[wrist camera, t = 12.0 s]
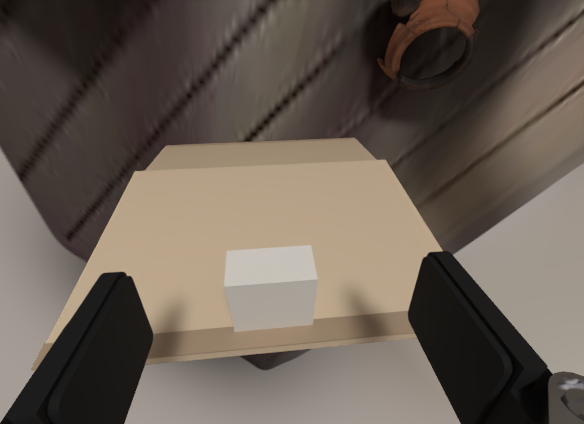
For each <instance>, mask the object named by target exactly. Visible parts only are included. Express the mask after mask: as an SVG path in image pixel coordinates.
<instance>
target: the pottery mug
mask: <svg viewBox="0 0 584 424" xmlns="http://www.w3.org/2000/svg"><path fill="white" fill-rule="evenodd" d="M389 1H390V2H391V3H392V4H391V8H392V12H393V14H395V15H397V16H399V17H402V18H404V17H407V16H409V15H410V18H409V21H408V22H407V24H406V25H404V24H402V23H398V25H397V26H396V29H395V31H394V33H393V35H392V37H391V39H390V41H389V44H388V48H387V51H386V54H385V62H384V61H383V60H382V58H380V57H379V58H377V61H378V64H379V65H380V67H381V69H382V70H383V71H384V73H385V74H386V75H387V76H389V77H390V78H391V79H392V80H395V81H397V82H398V84H399V86H400V87H402V88H404V89H408V90H411V91H418V92H419V91H427V90H432V89H437V88H438V87H441V86H443V85H446V84H447V83H449V82H451V81H453V80H454V79H455V78H457V77H458V76H459V75H460V74H461V73H462V72H463V71H464V70H465V69H466V68H467V66H468V65H469V64H470V62H471V61H472V59H473V57H474V55H475V53H476V51H477V38H478V35H479V32H480V28H479V26H476V28H475V29H474V28H473V27H472V24H473V23H474V22H475V20H476V18H477V17H478V14H479V12H480V8H479V5H478V0H389ZM441 27H451V28H455V29H457V30H459V31H461V32H462V33H463V35H464V36H465V38H466V47H465V50H464V52H463V54H462V56H461V58H460V59H459V60H458V61H456V62H455V63H454V64H453V65H452V66H451V67H450V68H449V69H447V70H446V71H444V72H442V73H440V74H438V75H436V76H434V77H431V78H428V79H421V80H413V79H409V78H407V77H405V76H404V75H402V74H400V73H399V72H398V70H399V69H400V60H401V57H402V55H403V53H404V51H405V50H406V48H407V47H408V46H409V45H410V44H411V42H412V41H413V40H414V39H415V38H416V37H417V36H420V35H421V34H423V33H425V32H427V31H430V30H432V29H436V28H441Z"/></svg>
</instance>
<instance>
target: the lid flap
mask: <svg viewBox="0 0 584 424" xmlns="http://www.w3.org/2000/svg"><path fill="white" fill-rule="evenodd" d="M439 251H442V249H441V247H440V246H439V244H438V243H437V241H436V239H435V238H434V236H433V235H432V233H431V231H430V230H429V228H428V227H427V225H426V224H425V222H424V220H423V219H422V217H421V216H420V214H419V212H418V211H417V209H416V208H415V206H414V204H413V203H412V201H411V200H410V198H409V197H408V195H407V193H406V192H405V190H404V189H403V187H402V185H401V184H400V182H399V181H398V179H397V177H396V176H395V174H394V173H393V171H392V170H391V168H390V166H389V165H388V163H387V162H386V160H367V161H346V162H325V163H303V164H282V165H261V166H239V167H218V168H197V169H175V170H154V171H135V172H134V174H133V176H132V178H131V180H130V182H129V184H128V186H127V188H126V190H125V192H124V193H123V195H122V197H121V199H120V201H119V203H118V205H117V207H116V209H115V211H114V213H113V215H112V217H111V219H110V221H109V222H108V224H107V226H106V228H105V230H104V232H103V234H102V236H101V238H100V240H99V242H98V244H97V246H96V248H95V250H94V251H93V253H92V255H91V257H90V259H89V261H88V263H87V265H86V267H85V269H84V271H83V273H82V275H81V277H80V279H79V281H78V282H77V284H76V286H75V288H74V290H73V292H72V294H71V296H70V298H69V300H68V302H67V304H66V306H65V308H64V310H63V312H62V313H61V315H60V317H59V319H58V321H57V323H56V325H55V327H54V329H53V331H52V333H51V335H50V337H49V339H48V340H47V342H46V344H44V345H43V347H42V349H41V351H40V353H39V355H38V357H37V359H36V361H35V363H34V364H33V366H32V368H31V370H33V371H34V372H35V371H36V369H37V368H38V366H39V365H40V363H41V362H42V360H43V359H44V357H45V356H46V354H47V353H48V351H49V350H50V348H51V347H52V345H53V344H54V342H55V341H56V339H57V338H58V336H59V335H60V333H61V332H62V330H63V329H64V327H65V326H66V325H67V324H68V322H69V321H70V320H71V318H72V317H73V315H74V314H75V312H76V311H77V309H78V308H79V306H80V305H81V303H82V302H83V300H84V299H85V297H86V296H87V294H88V293H89V291H90V290H91V288H92V287H93V285H94V284H95V282H96V281H97V279H98V278H99V276H100V275H101V274H103V273H108V272H125V273H126V274H127V276H131V277H132V278H133V281H134V283H135V286H136V288H137V291H138V294H139V296H140V299H141V302H142V304H143V307H144V310H145V312H146V315H147V318H148V320H149V323H150V326H151V328H152V331H153V343H152V346H151V349H150V351H149V354H148V357H147V360H146V363H145V365H148V364H160V363H170V362H180V361H190V360H200V359H210V358H221V357H231V356H241V355H251V354H261V353H271V352H282V351H292V350H302V349H312V348H322V347H332V346H343V345H352V344H363V343H373V342H383V341H394V340H404V339H414V338H417V336H416V335H415V333H414V331H413V329H412V327H411V325H410V323H409V320H408V310H409V306H410V302H411V299H412V295H413V291H414V288H415V284H416V280H417V277H418V273H419V270H420V266H421V262H422V259H423V258H424V257H427V254H428V253H429V252H439Z"/></svg>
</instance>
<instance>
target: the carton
mask: <svg viewBox="0 0 584 424" xmlns="http://www.w3.org/2000/svg"><path fill="white" fill-rule="evenodd" d="M367 160H376V159H375V158H374V157H373V156H372V155H371V154H370V153H369V152H368V151H367V150H366V149H365V148H364V147H363V146H362V145H361V144H360V143H359V142H358V141H357V140H356V139H355V138H335V139H311V140H286V141H261V142H236V143H212V144H187V145H166V146H165V147H164V149H163V150H162V151H161V152H160V153H159V155H158V156H157V157H156V158H155V159H154V160H153V162H152V163H151V164H150V165H149V166H148V168H147V169H146V170H145V171H154V170H175V169H197V168H218V167H239V166H261V165H282V164H303V163H325V162H346V161H367Z"/></svg>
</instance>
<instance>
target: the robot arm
mask: <svg viewBox="0 0 584 424" xmlns="http://www.w3.org/2000/svg"><path fill="white" fill-rule="evenodd" d="M408 320H409V323H410V325H411V327H412V329H413V331H414V333H415V335H416V336H417V338H418V340H419V342H420V344H421V346H422V348H423V350H424V352H425V354H426V356H427V358H428V360H429V362H430V364H431V366H432V368H433V370H434V372H435V374H436V376H437V378H438V380H439V381H440V383H441V386H442V388H443V389H444V391H445V393H446V395H447V397H448V399H449V401H450V403H451V405H452V407H453V409H454V411H455V413H456V415H457V417H458V419H459V421H460V423H461V424H584V376H581V375H578V374H575V373H570V372H558V373H554V374H552V373H551V372H550V370H549V369H548V368H547V365H546V364H545V362H544V361H543V360H542V359H541V358H540V357H539V355H538V354H537V353H536V352H535V351H534V350H533V349H532V347H531V346H530V345H529V344H528V343H527V341H526V340H525V339H524V338H523V337H522V336H521V334H520V333H519V332H518V331H517V330H516V329H515V327H514V326H513V325H512V324H511V323H510V322H509V321H508V319H507V318H506V317H505V316H504V315H503V313H502V312H501V311H500V310H499V309H498V308H497V306H496V305H495V304H494V303H493V302H492V301H491V299H490V298H489V297H488V296H487V295H486V294H485V293H484V291H483V290H482V289H481V288H480V287H479V286H478V284H477V283H476V282H475V281H474V280H473V279H472V277H471V276H470V275H469V274H468V273H467V271H465V269H464V268H463V267H462V266H461V265H460V263H459V262H458V261H457V260H456V259H455V258H454V256H453V255H452V254H451V253H450V252H448V251H439V252H429V253H428V254H427V257H424V258H423V259H422V262H421V266H420V270H419V273H418V277H417V280H416V284H415V288H414V291H413V295H412V299H411V302H410V306H409V310H408ZM152 343H153V331H152V328H151V326H150V323H149V320H148V318H147V315H146V312H145V310H144V307H143V304H142V302H141V299H140V296H139V294H138V291H137V288H136V286H135V283H134V281H133V278H132V277H131V276H127V274H126V273H125V272H108V273H103V274H101V275H100V276H99V278H98V279H97V281H96V282H95V284H94V285H93V287H92V288H91V290H90V291H89V293H88V294H87V296H86V297H85V299H84V300H83V302H82V303H81V305H80V306H79V308H78V309H77V311H76V312H75V314H74V315H73V317H72V318H71V320H70V321H69V322H68V324H67V325H66V326H65V327H64V329H63V330H62V332H61V333H60V335H59V336H58V338H57V339H56V341H55V342H54V344H53V345H52V347H51V348H50V350H49V351H48V353H47V354H46V356H45V357H44V359H43V360H42V362H41V363H40V365H39V366H38V368H37V369H36V371H35V372H34V374H33V375H32V377H31V378H30V379H29V381H28V383H27V384H26V386H25V387H24V389H23V390H22V391H21V393H20V394H19V396H18V398H17V399H16V401H15V402H14V403H13V405H12V407H11V408H10V409H9V411H8V412H7V414H6V415H5V417H4V418H3V420H2V421H1V423H0V424H124V422H125V420H126V417H127V414H128V411H129V408H130V405H131V402H132V400H133V397H134V394H135V391H136V388H137V386H138V382H139V380H140V377H141V374H142V371H143V368H144V366H145V363H146V360H147V357H148V354H149V351H150V349H151V346H152Z"/></svg>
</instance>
